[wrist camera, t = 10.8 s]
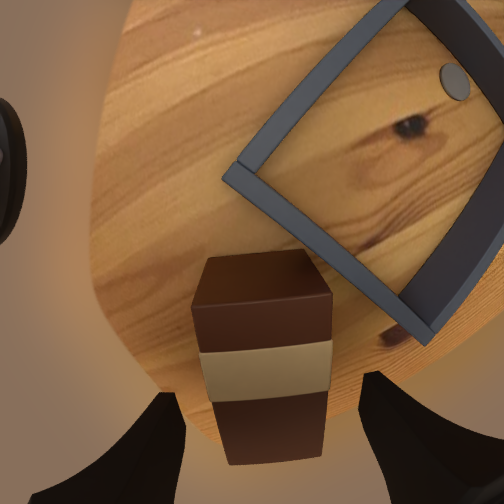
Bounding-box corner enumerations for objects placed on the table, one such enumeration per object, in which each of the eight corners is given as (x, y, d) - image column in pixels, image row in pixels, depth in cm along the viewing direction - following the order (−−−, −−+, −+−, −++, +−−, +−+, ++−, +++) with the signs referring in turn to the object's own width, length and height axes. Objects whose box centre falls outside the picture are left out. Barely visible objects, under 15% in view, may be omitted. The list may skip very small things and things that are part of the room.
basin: (226, 175, 13) (219, 179, 10) (396, -12, 10) (424, -39, 7) (395, 314, 15) (425, 347, 12) (517, 133, 12) (555, 134, 9)
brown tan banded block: (230, 399, 17) (227, 466, 12) (206, 257, 14) (187, 306, 9) (306, 392, 17) (322, 457, 12) (304, 247, 14) (335, 292, 9)
